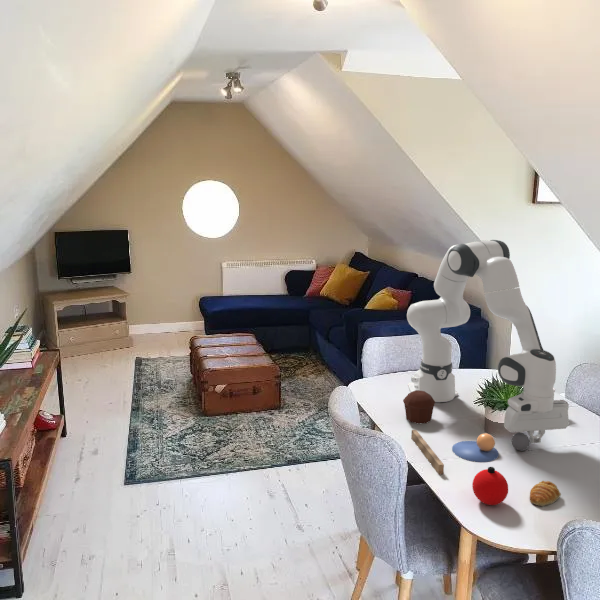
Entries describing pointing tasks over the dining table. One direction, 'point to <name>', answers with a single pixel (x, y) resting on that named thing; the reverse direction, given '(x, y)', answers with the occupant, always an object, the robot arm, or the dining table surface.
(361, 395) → the dining table surface
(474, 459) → the blue flat disc
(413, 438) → the wall
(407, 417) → the muffin
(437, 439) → the dining table surface
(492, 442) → the object ball
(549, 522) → the dining table surface
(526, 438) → the grey matte sphere
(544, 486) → the pastry
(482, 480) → the ornament
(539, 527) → the dining table surface
